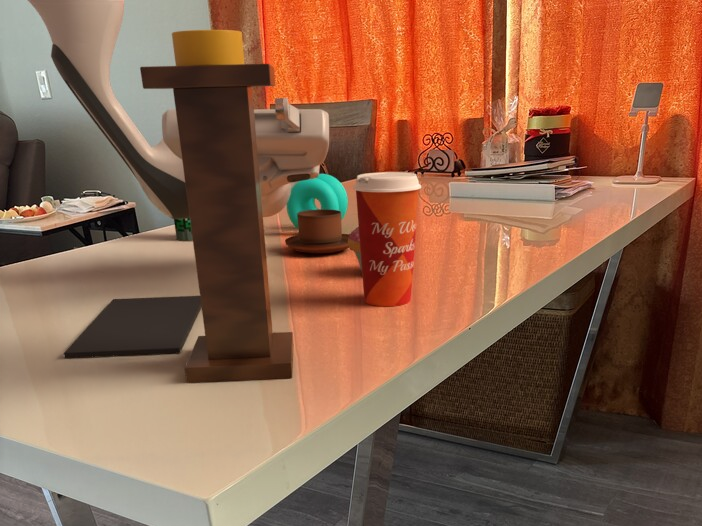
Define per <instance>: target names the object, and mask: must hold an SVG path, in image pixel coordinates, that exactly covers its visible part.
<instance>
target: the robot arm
mask: <svg viewBox="0 0 702 526" xmlns="http://www.w3.org/2000/svg"><path fill="white" fill-rule="evenodd" d="M27 1H28V2H29V4H30V5H31V6H32V7H33V8H34V9H35V11H36V12H37V13H38V15H39V17H40V18H41V20H42V21H43V23H44V25H45V27H46V29H47V32H48V34H49V37H50V40H51V43H52V44H51V50H50V51H51V52H50V58H51V60H52V62H53V64H54V66H55V67H56V70H57V72H58V74H59V75H60V78H62V80H63V81H64V83H65V84H66V86H67V87H68V89H69V90H70V91H71V93H72V94H73V96H74V97H75V98H76V100H77V101H78V103H79V104H80V105H81V107H82V108H83V109H84V111H85V112H86V113H87V115H88V116H89V117H90V119H91V120H92V121H93V123H94V124H95V125H96V127H97V128H98V129H99V130H100V132H101V133H102V134H103V136H104V137H105V139H106V140H107V141H108V142H109V143H110V145H111V147H112V148H113V149H114V151H116V153H117V154H118V155H119V157H120V158H121V160H122V161H123V162H124V163H125V165H126V166H127V168H128V169H129V171H130V172H131V173H132V174H133V176H134V178H135V179H136V180H137V182H138V183H139V185H140V187H141V189H142V191H143V193H144V194H145V196H146V197H147V199H148V200H149V201H150V203H152V205H154V207H155V208H157V210H158V211H160V212H161V213H162V214H164V215H165V216H168V217H169V218H170V219H172V220H174V219H187V218H190V215H189V207H188V200H187V192H186V184H185V177H184V169H183V161H182V154H181V146H180V139H179V131H178V123H177V116H176V109H167V110H166V111H165V112H163V113H162V115H161V131H162V134H161V135H162V139H161V140H160V141H159V142H158V143H157V144H156V145H155V146H151V145H150V143H148V141H147V139H146V138H145V136H144V135H143V134H142V133H141V131H140V130H139V129H138V127H137V126H136V124H135V123H134V121H133V120H132V119H131V117H130V116H129V115H128V113H127V111H126V110H125V109H124V108H123V106H122V105H121V103H120V102H119V101H118V99H117V97H116V95H115V94H114V91H113V88H112V85H111V78H110V74H111V71H110V70H111V63H112V58H113V54H114V50H115V47H116V44H117V40H118V36H119V34H120V30H121V27H122V23H123V17H124V10H125V0H27ZM274 104H275V106H274V109H272V108H271V109H269V108H267V109H263V108H260V109H259V108H258V109H257V108H256V109H255V108H254V117H255V129H256V141H257V153H258V165H259V177H260V189H261V201H262V212H263V218H269V217H273V216H275V215H277V214H278V213H280V212H281V211H282V210H284V209H285V207H287V202H288V200H289V197H290V194H291V189H292V187H293V184H292V183H297V182H299V181H303V180H308V179H314V178H317V177H318V176H319V174H320V168H321V167H320V166H321V165H322V164H323V163H324V162H325V161H326V158H327V155H328V152H329V146H330V115H329V113H328V112H327V111H325V110H324V109H320V108H308V109H307V108H304V109H303V108H298V107H296V106H293V104H290V103H289V98H288V97H281V98H280V97H279V98H274Z"/></svg>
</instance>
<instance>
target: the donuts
mask: <svg viewBox="0 0 702 526" xmlns="http://www.w3.org/2000/svg"><path fill="white" fill-rule="evenodd" d="M348 199H349V198H348V194H347V190H346V189H345V187H344V185H343V184H342V182H341V181H340V180H338V178H337V177H335V176H333V175H330V174H328V173H319V176H318V177H317V178H314V179H308V180H303V181H297V182H295V183H294V185H292V187H291V194H290V197H289V200H288V202H287V204H286V211H287V215H288V218H289V221H290V222H291V224H292V225H293V226H294V227H295V228H296V229H297V230H298V217H297V213H298V212H301V211H307V210H319V208H318V207H317V205H316V201H315V200H317V202H319V205H320V209H329V210H338V211H341V221H342V220H343V219H344V218H345V216H346V214H347V211H348V206H349V200H348Z"/></svg>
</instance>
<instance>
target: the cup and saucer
mask: <svg viewBox="0 0 702 526" xmlns="http://www.w3.org/2000/svg"><path fill="white" fill-rule="evenodd" d="M318 209H319V208H318ZM297 217H298V229H297V230H298V234H297V235H293V236H289V237H286V238H285V240H284V243H285V245H286V246H287V247H288V248H289V249H290V250H294V251H295V252H299V253H305V254H318V255H319V254H330V253H331V254H332V253H337V252H341V251H344V250H347V249H350V248H349V246H348V239H349V236H350V235H349V234H348V233H342V232H343V231H342V229H343V228H342V220H341V211H338V210H329V209H321V208H320V209H319V210H307V211H301V212H298V213H297Z"/></svg>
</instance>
